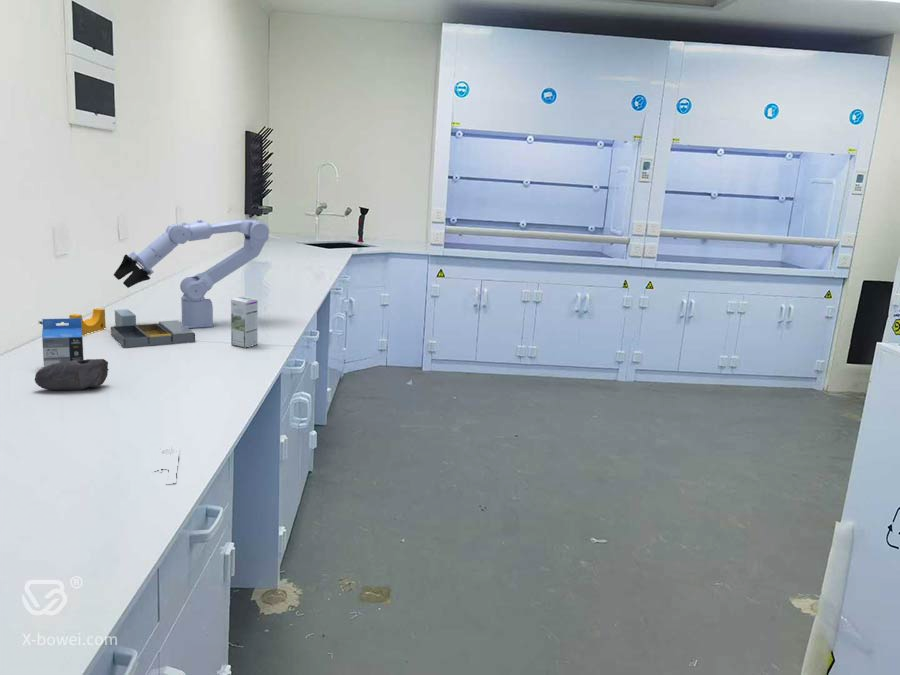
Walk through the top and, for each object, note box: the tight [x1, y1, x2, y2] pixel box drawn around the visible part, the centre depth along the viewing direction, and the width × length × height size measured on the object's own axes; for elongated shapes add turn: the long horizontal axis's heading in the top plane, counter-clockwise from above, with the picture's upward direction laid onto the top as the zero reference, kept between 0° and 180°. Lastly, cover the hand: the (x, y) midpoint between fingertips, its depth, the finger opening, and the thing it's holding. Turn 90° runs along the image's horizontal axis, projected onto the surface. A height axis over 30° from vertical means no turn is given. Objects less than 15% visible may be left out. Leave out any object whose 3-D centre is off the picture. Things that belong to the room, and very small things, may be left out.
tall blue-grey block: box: [114, 308, 137, 326], centre depth 215 cm, size 4×10×5 cm, turn 38°
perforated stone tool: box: [34, 358, 109, 391], centre depth 156 cm, size 15×5×7 cm, turn 114°
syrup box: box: [230, 296, 259, 349], centre depth 204 cm, size 6×6×14 cm
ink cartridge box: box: [41, 318, 85, 368], centre depth 171 cm, size 9×4×12 cm, turn 117°
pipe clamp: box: [68, 308, 107, 336], centre depth 206 cm, size 12×4×6 cm, turn 169°
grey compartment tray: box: [110, 319, 196, 349], centre depth 205 cm, size 20×16×3 cm
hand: (120, 281), depth 210 cm, fingers open, 7 cm apart
